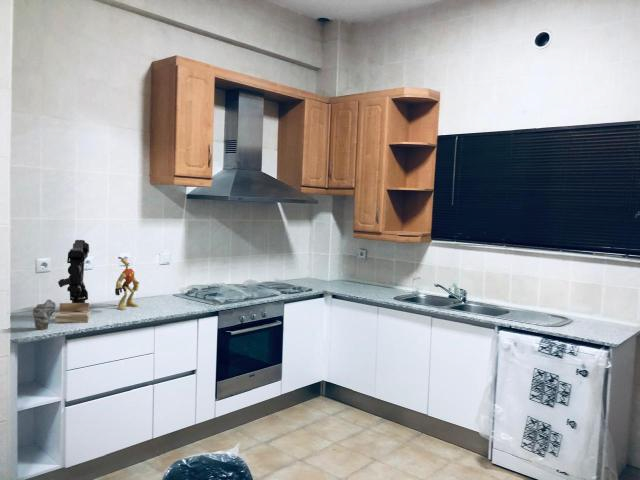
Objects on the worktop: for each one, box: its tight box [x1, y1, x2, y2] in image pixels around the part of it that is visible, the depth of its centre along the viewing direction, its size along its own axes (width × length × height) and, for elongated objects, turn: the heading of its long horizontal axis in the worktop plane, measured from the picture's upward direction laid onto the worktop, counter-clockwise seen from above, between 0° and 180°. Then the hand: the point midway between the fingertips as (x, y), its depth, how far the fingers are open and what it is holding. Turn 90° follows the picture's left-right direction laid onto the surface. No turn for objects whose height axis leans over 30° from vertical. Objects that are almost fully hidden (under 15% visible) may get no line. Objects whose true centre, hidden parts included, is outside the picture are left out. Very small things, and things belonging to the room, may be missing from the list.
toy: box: [114, 256, 140, 311], centre depth 310 cm, size 23×9×30 cm, turn 168°
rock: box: [32, 299, 57, 330], centre depth 257 cm, size 13×6×15 cm, turn 52°
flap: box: [58, 302, 90, 312], centre depth 281 cm, size 4×14×1 cm
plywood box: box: [54, 311, 91, 324], centre depth 276 cm, size 10×15×4 cm, turn 108°
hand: (75, 302), depth 287 cm, fingers closed
